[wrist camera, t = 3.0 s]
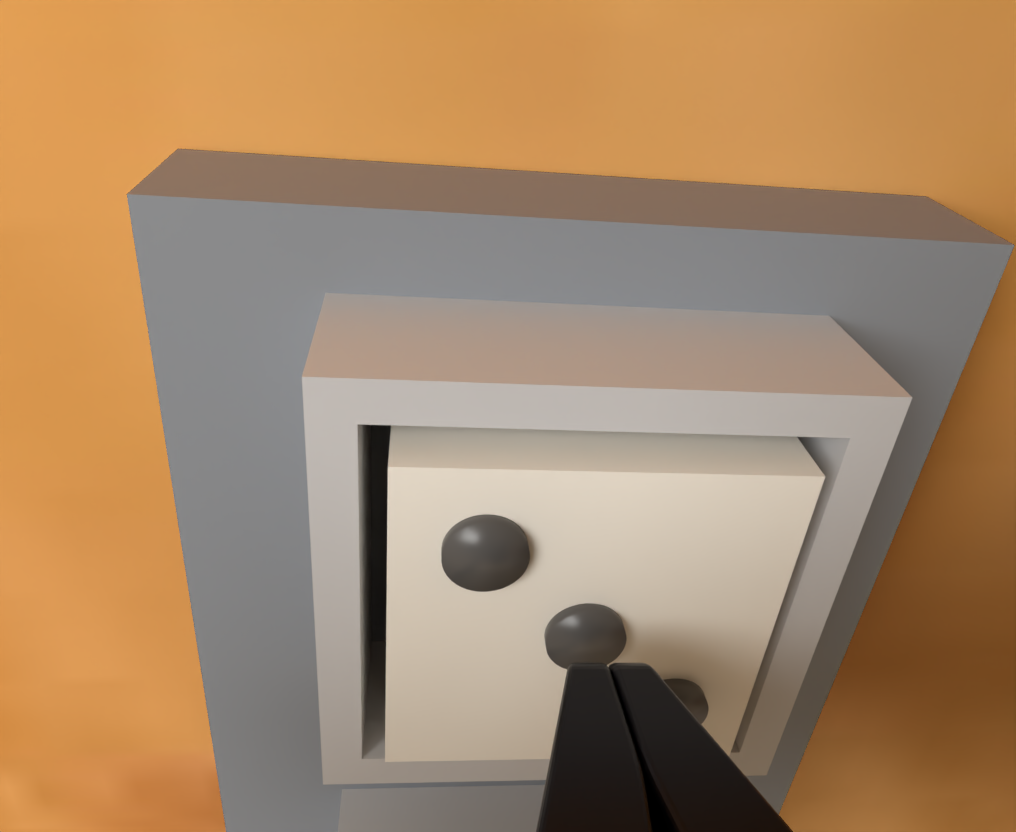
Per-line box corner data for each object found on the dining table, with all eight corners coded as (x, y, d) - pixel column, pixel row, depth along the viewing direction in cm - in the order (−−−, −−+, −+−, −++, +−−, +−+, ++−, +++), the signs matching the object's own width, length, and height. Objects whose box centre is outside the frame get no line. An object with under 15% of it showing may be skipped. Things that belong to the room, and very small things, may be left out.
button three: (687, 639, 12) (733, 765, 10) (391, 639, 12) (384, 773, 10) (758, 382, 10) (831, 484, 8) (395, 369, 9) (387, 475, 8)
